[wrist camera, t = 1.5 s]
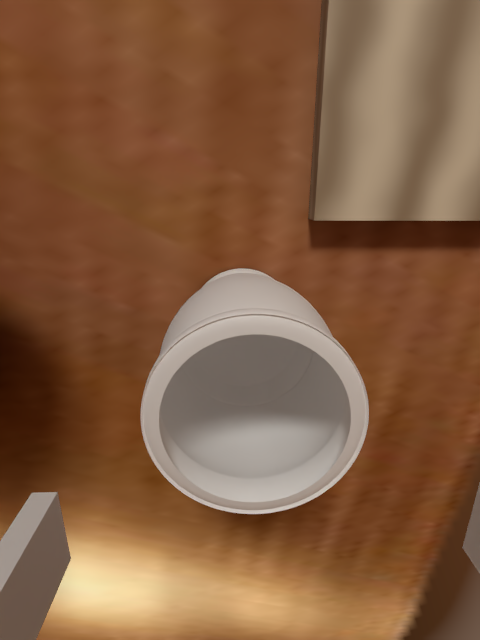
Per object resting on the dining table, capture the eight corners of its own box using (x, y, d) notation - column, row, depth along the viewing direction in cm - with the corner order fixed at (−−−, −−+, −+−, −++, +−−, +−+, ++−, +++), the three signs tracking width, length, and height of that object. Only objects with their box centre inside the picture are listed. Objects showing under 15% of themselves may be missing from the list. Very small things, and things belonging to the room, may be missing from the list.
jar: (320, 351, 32) (394, 477, 18) (209, 391, 33) (196, 541, 19) (280, 234, 29) (332, 274, 14) (158, 282, 29) (94, 365, 15)
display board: (308, 218, 28) (318, 221, 25) (327, -89, 22) (342, -133, 19) (505, 218, 29) (537, 222, 26) (573, -82, 23) (626, -124, 20)
